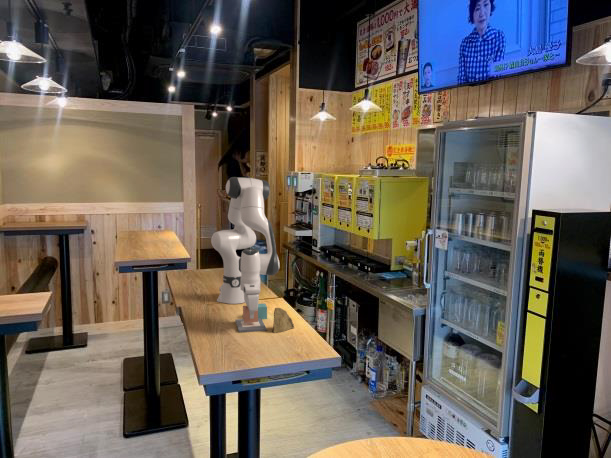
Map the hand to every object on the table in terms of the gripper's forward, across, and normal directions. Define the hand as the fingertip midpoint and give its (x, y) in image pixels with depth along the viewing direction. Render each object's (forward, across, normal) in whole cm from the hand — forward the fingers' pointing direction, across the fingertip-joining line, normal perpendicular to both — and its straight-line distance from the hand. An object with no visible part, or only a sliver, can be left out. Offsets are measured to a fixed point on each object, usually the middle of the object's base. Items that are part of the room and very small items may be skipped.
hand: (250, 315), depth 207 cm
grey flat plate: (+5, 0, 0) cm, 5 cm away
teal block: (+5, -12, +6) cm, 14 cm away
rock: (+5, +8, +14) cm, 17 cm away
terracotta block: (+2, 0, 0) cm, 2 cm away
